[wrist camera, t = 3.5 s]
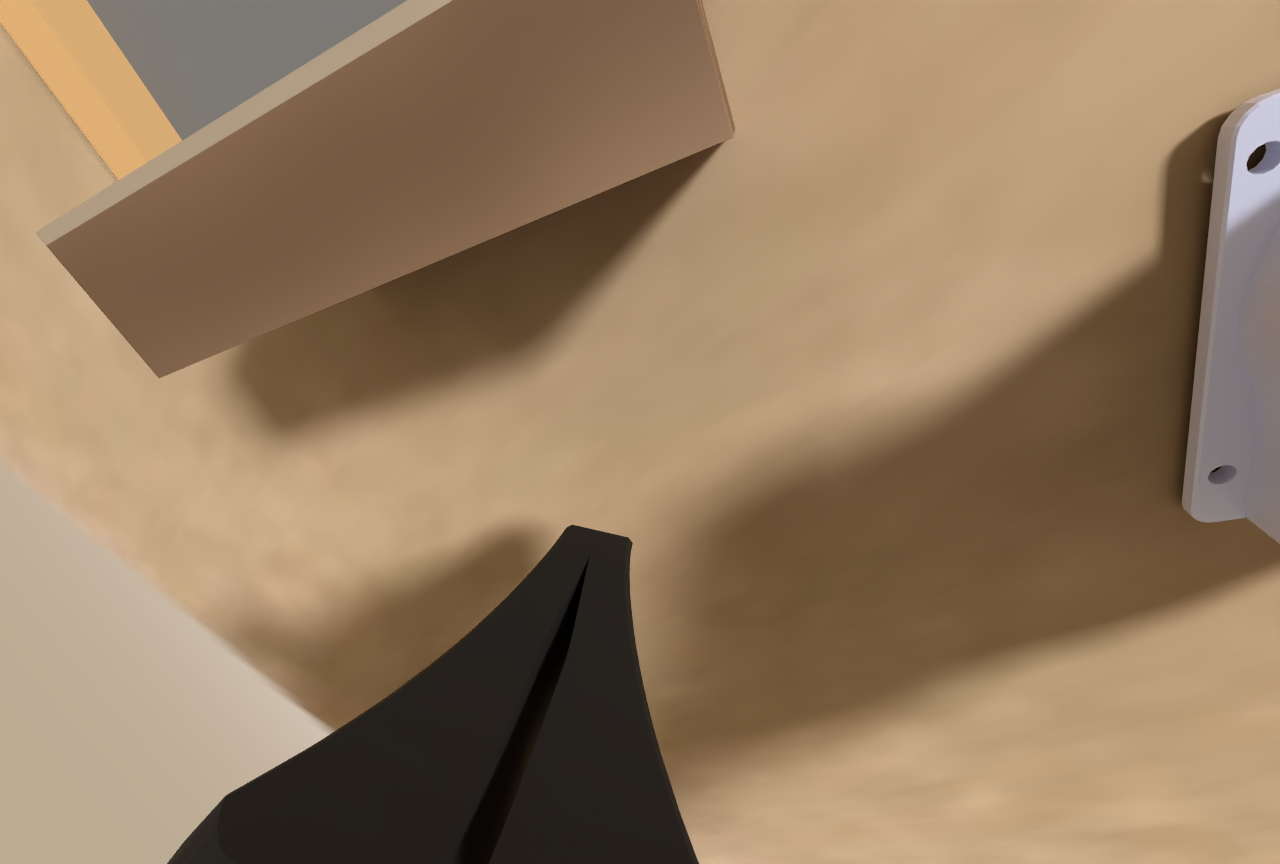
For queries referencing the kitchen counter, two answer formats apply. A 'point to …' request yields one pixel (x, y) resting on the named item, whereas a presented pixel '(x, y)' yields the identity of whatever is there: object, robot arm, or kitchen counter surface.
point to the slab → (391, 162)
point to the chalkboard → (170, 60)
